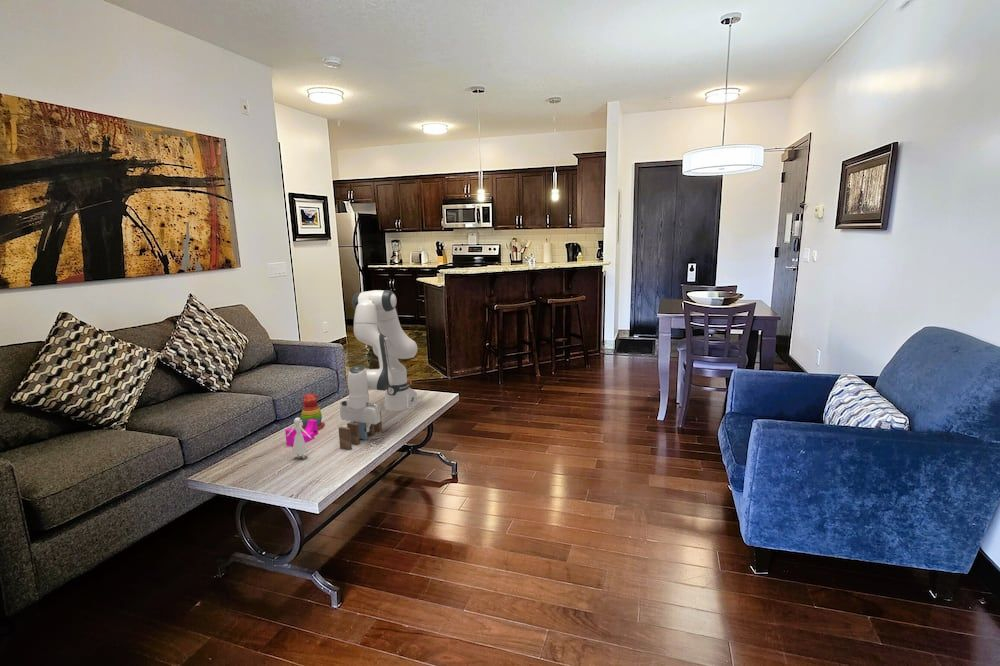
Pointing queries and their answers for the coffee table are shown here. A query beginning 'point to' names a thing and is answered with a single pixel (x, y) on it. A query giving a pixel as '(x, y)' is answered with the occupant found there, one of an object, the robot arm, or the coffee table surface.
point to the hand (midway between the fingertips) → (361, 430)
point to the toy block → (310, 430)
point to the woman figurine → (299, 439)
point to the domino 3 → (362, 430)
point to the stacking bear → (311, 411)
